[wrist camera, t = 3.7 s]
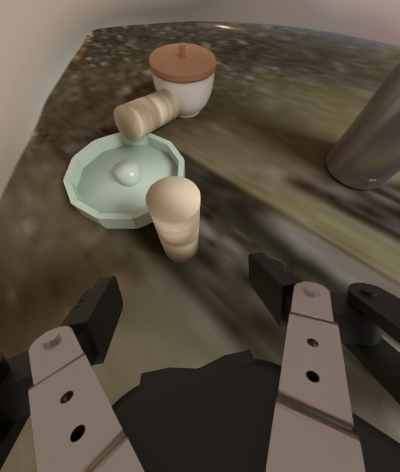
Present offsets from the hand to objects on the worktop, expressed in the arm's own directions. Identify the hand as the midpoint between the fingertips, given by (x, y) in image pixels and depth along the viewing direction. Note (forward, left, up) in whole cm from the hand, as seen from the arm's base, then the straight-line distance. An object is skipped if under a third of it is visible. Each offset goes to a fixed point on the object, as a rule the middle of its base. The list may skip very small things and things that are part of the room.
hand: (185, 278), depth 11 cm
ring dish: (-10, -17, -11) cm, 22 cm away
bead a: (-5, -5, -11) cm, 13 cm away
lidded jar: (-30, -20, -11) cm, 38 cm away
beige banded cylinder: (-15, -19, -6) cm, 25 cm away
